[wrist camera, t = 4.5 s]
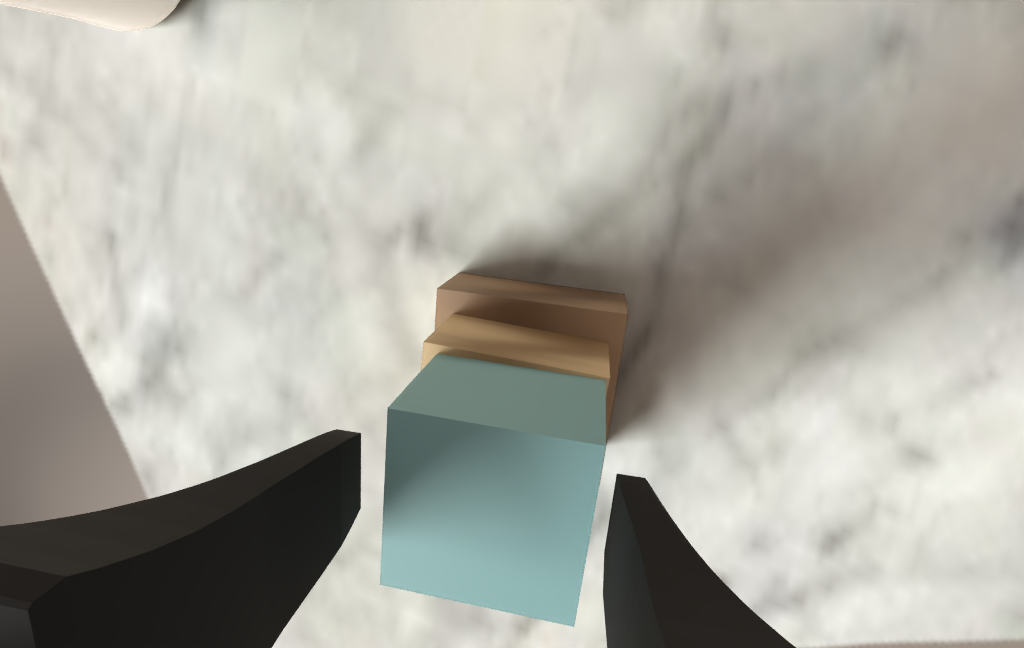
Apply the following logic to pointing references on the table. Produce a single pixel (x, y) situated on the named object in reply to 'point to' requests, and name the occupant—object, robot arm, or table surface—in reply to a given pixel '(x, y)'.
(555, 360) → the tower mid
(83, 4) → the drinking glass
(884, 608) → the table surface
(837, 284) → the table surface
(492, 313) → the tower base
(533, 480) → the teal block
